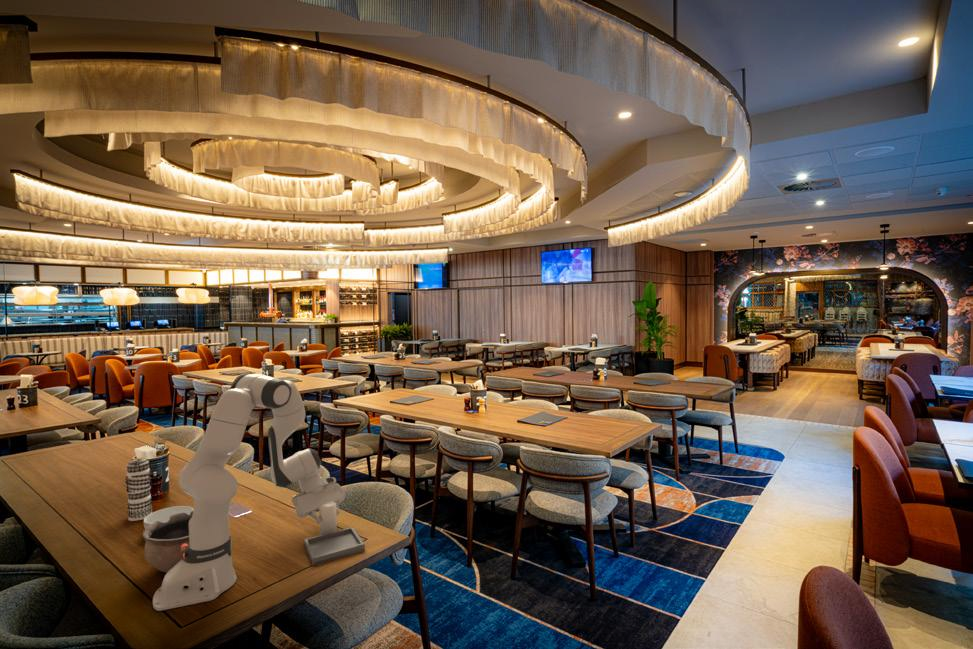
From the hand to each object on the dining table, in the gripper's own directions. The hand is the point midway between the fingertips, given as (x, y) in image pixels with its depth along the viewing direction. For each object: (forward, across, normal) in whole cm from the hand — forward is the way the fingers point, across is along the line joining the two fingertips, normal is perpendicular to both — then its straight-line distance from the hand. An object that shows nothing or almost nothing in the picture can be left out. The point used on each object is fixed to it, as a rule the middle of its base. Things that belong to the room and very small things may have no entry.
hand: (329, 518), depth 183 cm
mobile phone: (-33, -11, +42) cm, 54 cm away
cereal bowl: (-35, -36, +43) cm, 66 cm away
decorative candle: (-54, -38, +62) cm, 91 cm away
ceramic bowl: (-11, -43, +20) cm, 49 cm away
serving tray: (+13, -6, -4) cm, 15 cm away
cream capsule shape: (+4, 0, +5) cm, 6 cm away
